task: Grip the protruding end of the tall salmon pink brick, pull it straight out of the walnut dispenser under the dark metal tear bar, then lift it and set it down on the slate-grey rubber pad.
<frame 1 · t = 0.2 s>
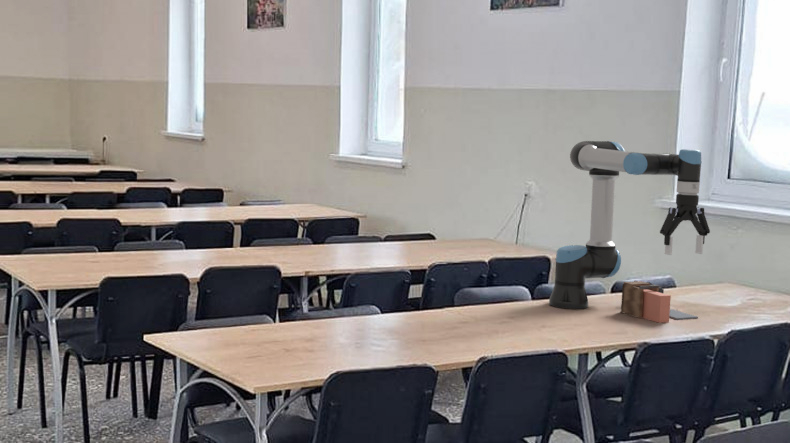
hand: (683, 254, 345), 27 cm above the table, fingers open, 13 cm apart
camera: (650, 307, 390), on the table
salmon pink brick: (652, 319, 366), on the table
dispenser: (638, 314, 373), on the table
pad: (674, 315, 374), on the table
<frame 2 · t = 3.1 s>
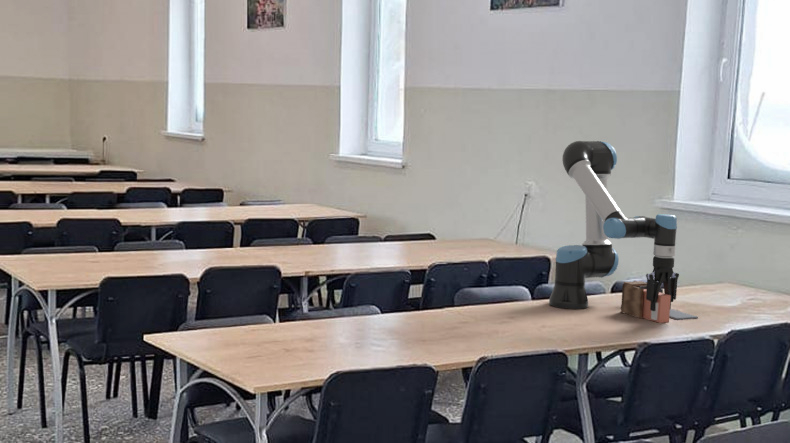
hand: (659, 318, 362), 1 cm above the table, fingers closed on salmon pink brick, 4 cm apart
salmon pink brick: (652, 318, 366), on the table, touching gripper
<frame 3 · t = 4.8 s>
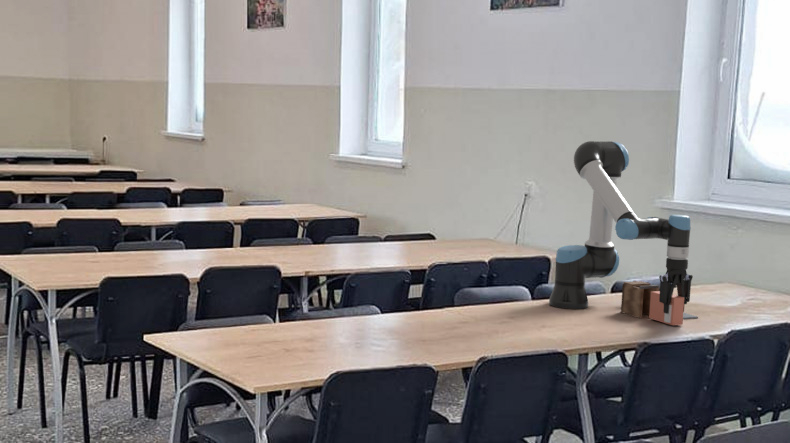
hand: (673, 321, 356), 1 cm above the table, fingers closed on salmon pink brick, 4 cm apart
salmon pink brick: (665, 321, 359), point 1 cm above the table, touching gripper
everything else where it was.
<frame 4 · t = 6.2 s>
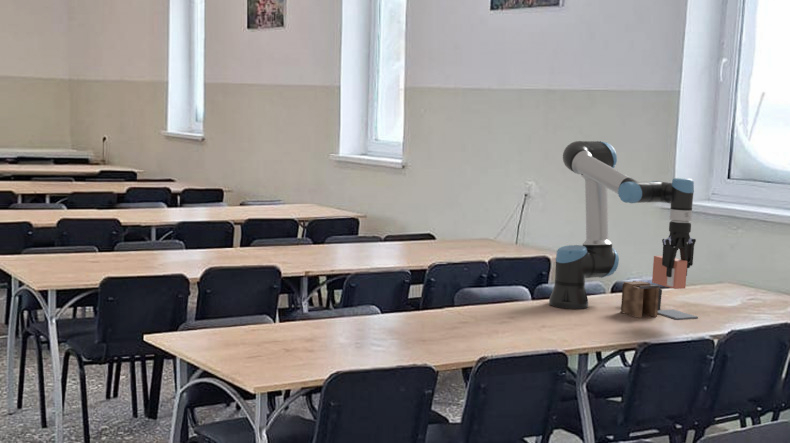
hand: (675, 285, 354), 15 cm above the table, fingers closed on salmon pink brick, 4 cm apart
salmon pink brick: (668, 285, 358), point 14 cm above the table, touching gripper
everything else where it was.
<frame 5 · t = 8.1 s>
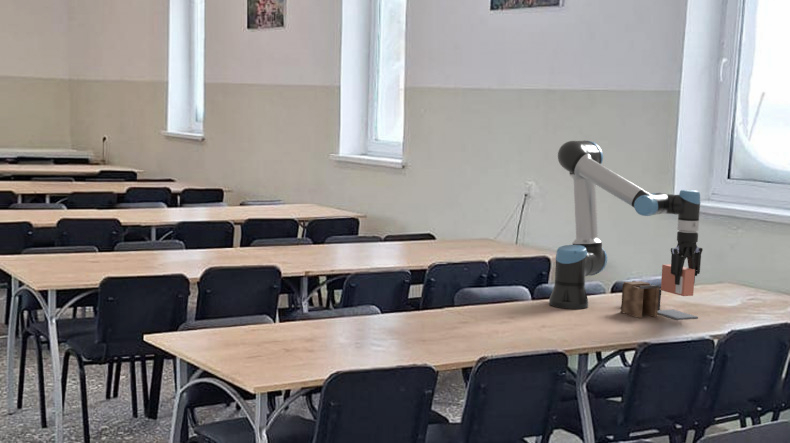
hand: (684, 292, 369), 9 cm above the table, fingers closed on salmon pink brick, 4 cm apart
salmon pink brick: (676, 292, 373), point 9 cm above the table, touching gripper
when the fingers open (2 cm above the table, at t = 9.6 s): salmon pink brick stays where it is, resting on pad.
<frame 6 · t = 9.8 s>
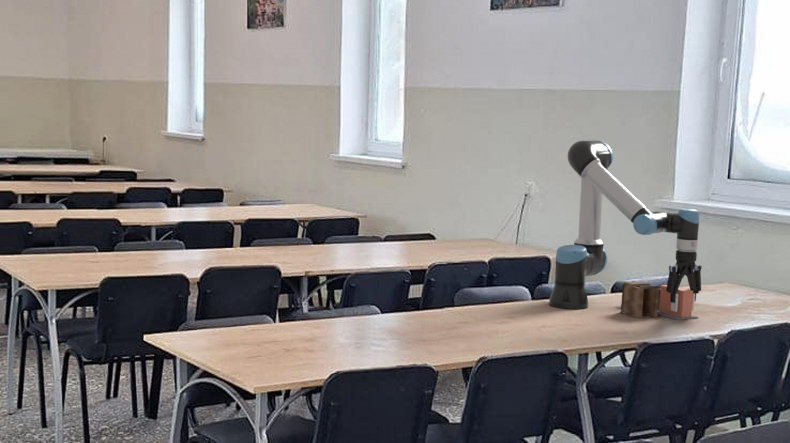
hand: (682, 310, 370), 3 cm above the table, fingers open, 7 cm apart
salmon pink brick: (674, 313, 374), point 1 cm above the table, touching pad
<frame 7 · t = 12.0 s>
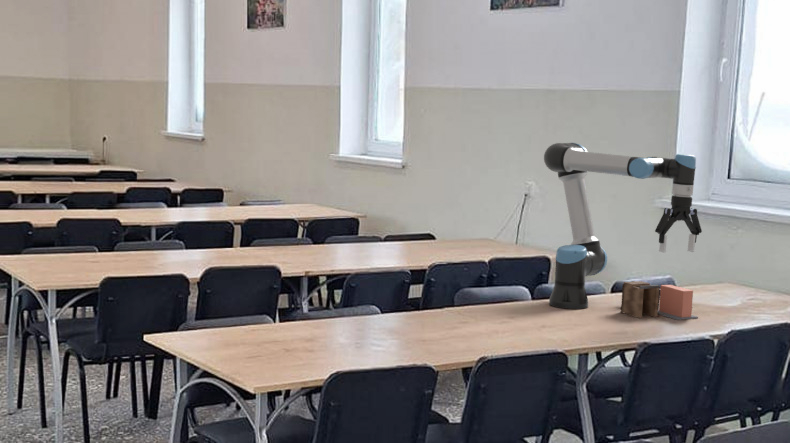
hand: (676, 251, 370), 25 cm above the table, fingers open, 13 cm apart
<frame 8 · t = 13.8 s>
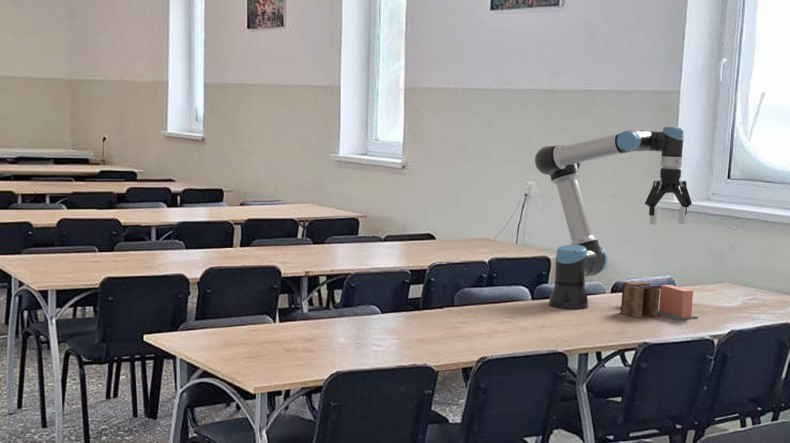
hand: (667, 224, 371), 35 cm above the table, fingers open, 13 cm apart
at the end: salmon pink brick inside the target area on the pad (0.0 cm from its centre), point 0.6 cm above the pad's base; salmon pink brick touching pad; the gripper is holding nothing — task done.
